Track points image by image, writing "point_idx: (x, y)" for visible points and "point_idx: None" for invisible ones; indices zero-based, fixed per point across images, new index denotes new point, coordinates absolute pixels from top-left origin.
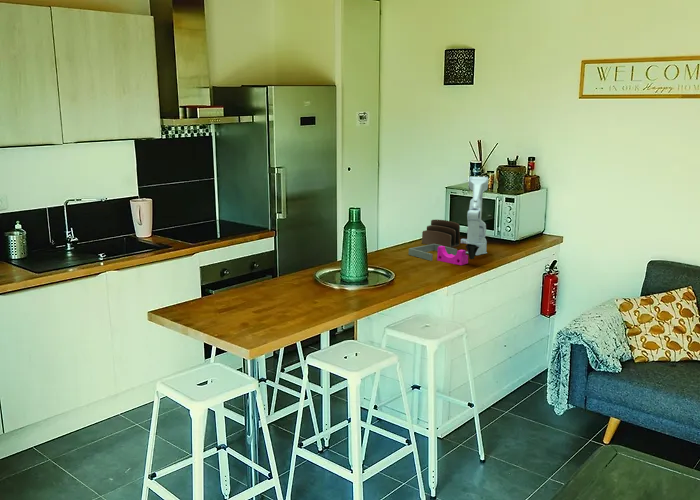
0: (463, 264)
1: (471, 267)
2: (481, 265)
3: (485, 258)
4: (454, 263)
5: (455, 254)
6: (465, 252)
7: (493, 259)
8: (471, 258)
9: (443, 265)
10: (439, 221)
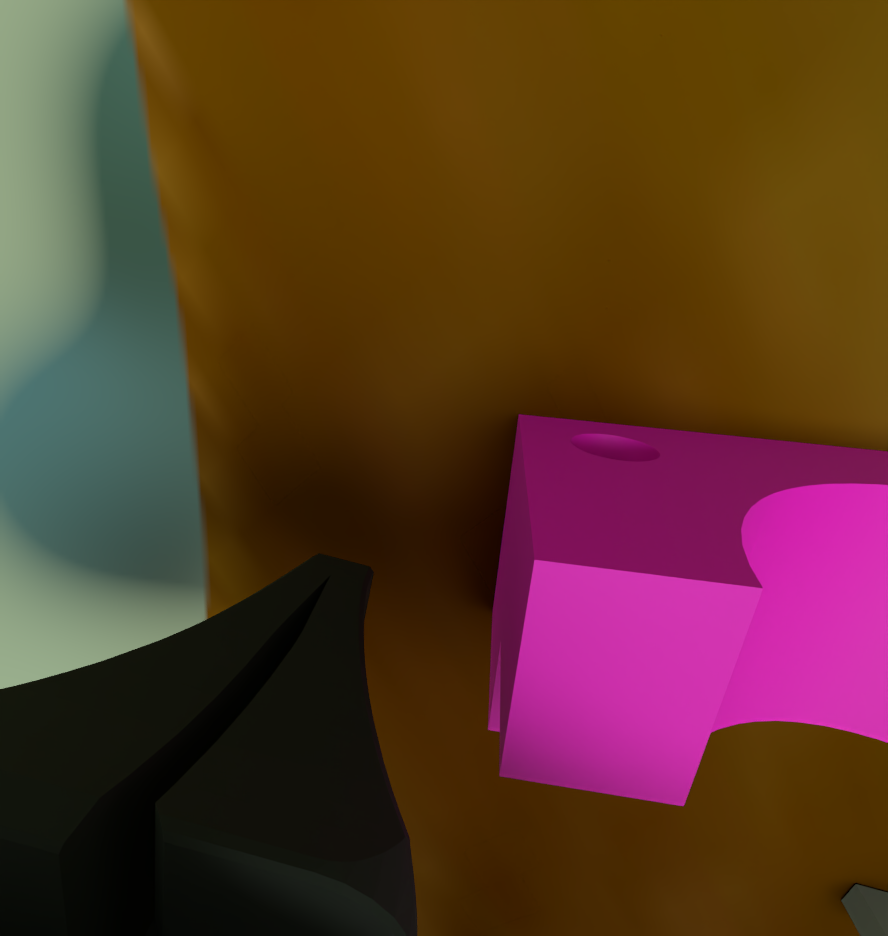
0: (509, 491)
1: (290, 392)
2: None
3: (424, 911)
4: (682, 432)
5: (870, 906)
6: (501, 704)
7: None
8: (308, 560)
9: (875, 128)
10: None
